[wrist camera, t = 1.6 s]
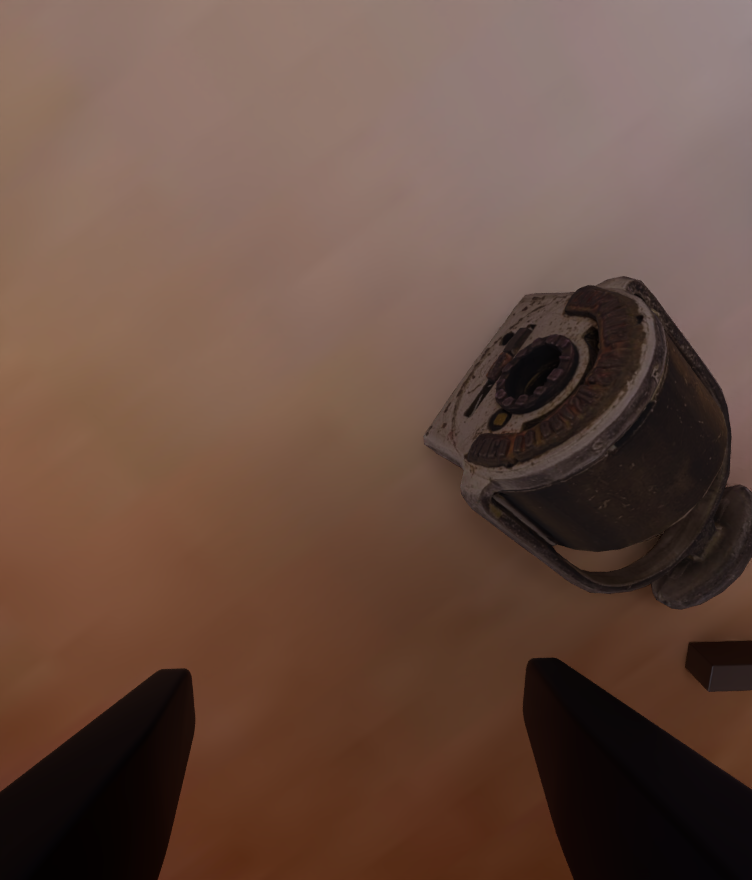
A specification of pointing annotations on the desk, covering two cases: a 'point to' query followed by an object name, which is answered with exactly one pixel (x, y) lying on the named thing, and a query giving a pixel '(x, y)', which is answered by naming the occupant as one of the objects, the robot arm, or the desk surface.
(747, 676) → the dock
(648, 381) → the mechanical counter
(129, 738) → the robot arm
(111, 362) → the desk surface
